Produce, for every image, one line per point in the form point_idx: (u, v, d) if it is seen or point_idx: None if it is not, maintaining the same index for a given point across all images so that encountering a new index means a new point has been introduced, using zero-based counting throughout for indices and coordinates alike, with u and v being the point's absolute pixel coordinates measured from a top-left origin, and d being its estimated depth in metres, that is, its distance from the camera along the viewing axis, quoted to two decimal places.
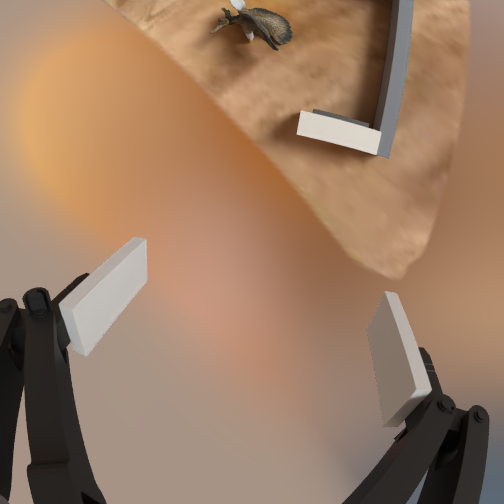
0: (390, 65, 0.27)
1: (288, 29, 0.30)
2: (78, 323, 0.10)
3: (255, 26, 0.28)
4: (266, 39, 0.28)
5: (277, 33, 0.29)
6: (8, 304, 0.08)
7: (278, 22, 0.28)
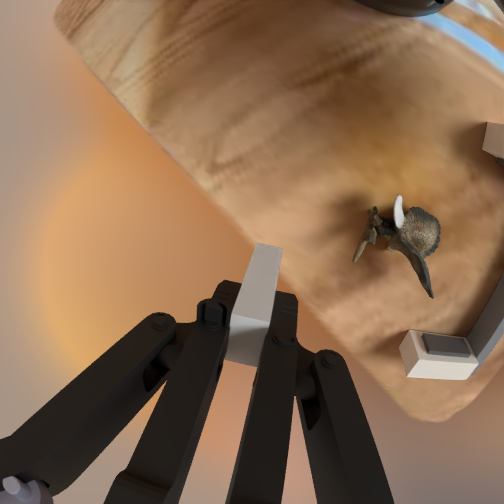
0: None
1: (437, 237, 0.24)
2: None
3: (412, 254, 0.22)
4: (421, 277, 0.23)
5: (427, 248, 0.24)
6: (164, 322, 0.10)
7: (433, 234, 0.23)
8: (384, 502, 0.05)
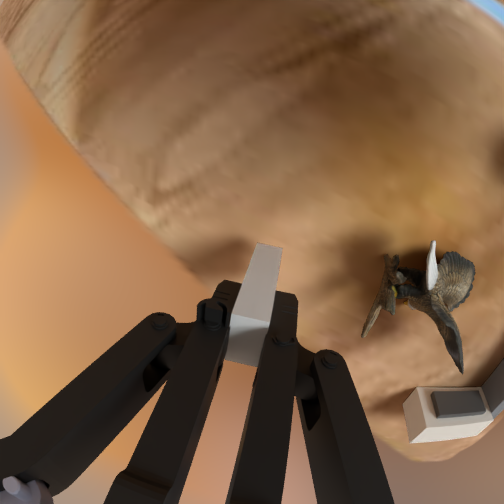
0: None
1: (470, 285, 0.17)
2: None
3: None
4: (449, 345, 0.15)
5: (457, 301, 0.17)
6: (164, 322, 0.10)
7: (468, 285, 0.16)
8: (384, 502, 0.05)
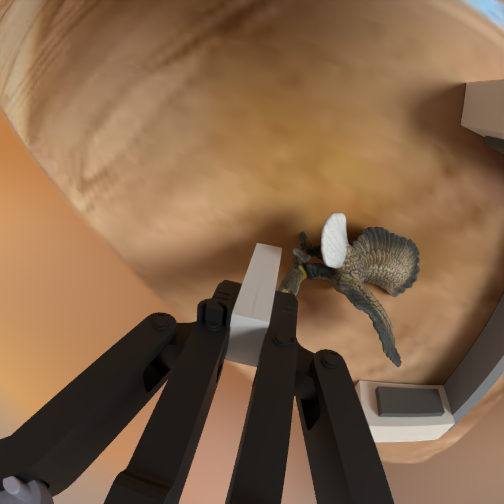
0: None
1: (415, 267, 0.17)
2: None
3: None
4: None
5: (397, 285, 0.17)
6: (165, 322, 0.10)
7: (405, 265, 0.16)
8: (384, 502, 0.05)
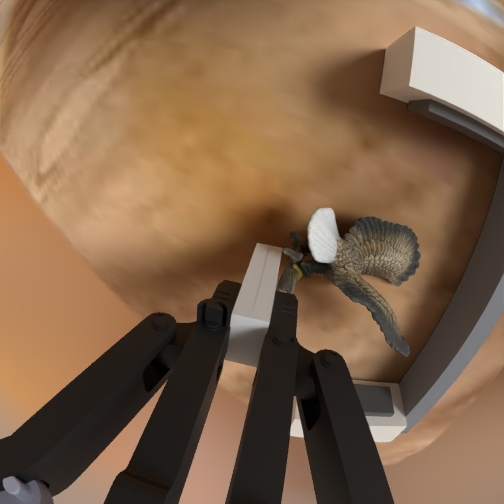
0: (462, 332, 0.16)
1: (415, 253, 0.17)
2: None
3: None
4: None
5: (399, 273, 0.17)
6: (164, 322, 0.10)
7: (404, 252, 0.16)
8: (384, 502, 0.05)
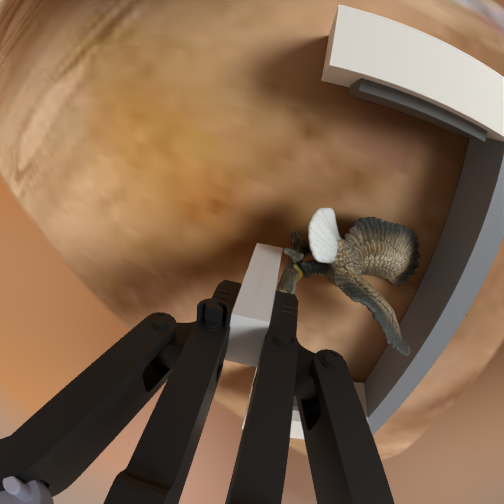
0: (423, 331, 0.16)
1: (415, 253, 0.17)
2: None
3: None
4: None
5: (399, 273, 0.17)
6: (164, 322, 0.10)
7: (404, 252, 0.16)
8: (384, 502, 0.05)
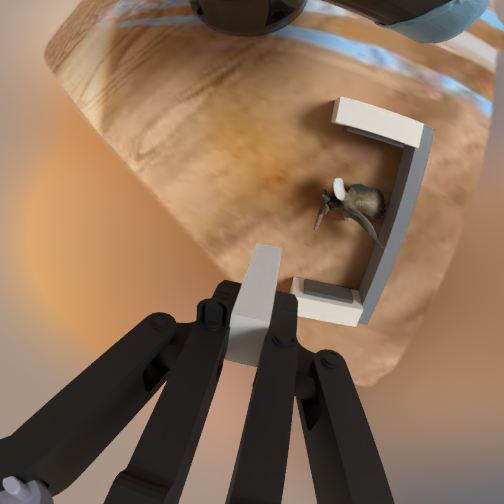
0: (384, 242, 0.34)
1: (382, 204, 0.35)
2: None
3: (359, 217, 0.33)
4: None
5: (374, 213, 0.35)
6: (164, 322, 0.10)
7: (375, 201, 0.34)
8: (384, 502, 0.05)
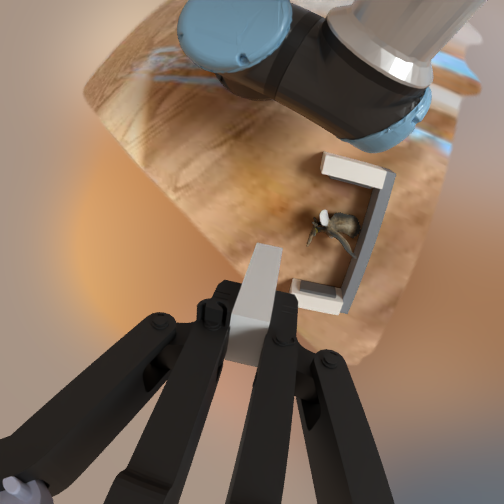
0: (358, 254, 0.49)
1: (358, 225, 0.50)
2: None
3: None
4: None
5: (351, 232, 0.49)
6: (164, 322, 0.10)
7: (352, 224, 0.48)
8: (384, 502, 0.05)
